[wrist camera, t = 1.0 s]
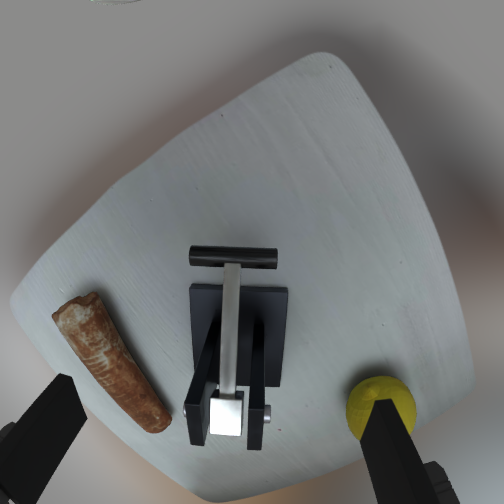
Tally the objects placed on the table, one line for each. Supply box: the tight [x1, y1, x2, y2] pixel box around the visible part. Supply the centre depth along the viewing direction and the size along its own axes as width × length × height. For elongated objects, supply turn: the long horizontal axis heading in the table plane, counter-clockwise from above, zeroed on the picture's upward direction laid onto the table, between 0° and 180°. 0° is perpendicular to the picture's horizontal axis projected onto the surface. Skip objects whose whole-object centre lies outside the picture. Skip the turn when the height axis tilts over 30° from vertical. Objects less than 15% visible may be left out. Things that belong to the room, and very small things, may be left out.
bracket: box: [183, 284, 288, 450], centre depth 23 cm, size 11×9×13 cm
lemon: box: [346, 376, 417, 440], centre depth 27 cm, size 11×8×8 cm
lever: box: [189, 245, 278, 436], centre depth 20 cm, size 13×6×2 cm, turn 178°
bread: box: [52, 292, 172, 433], centre depth 28 cm, size 6×19×6 cm, turn 21°
